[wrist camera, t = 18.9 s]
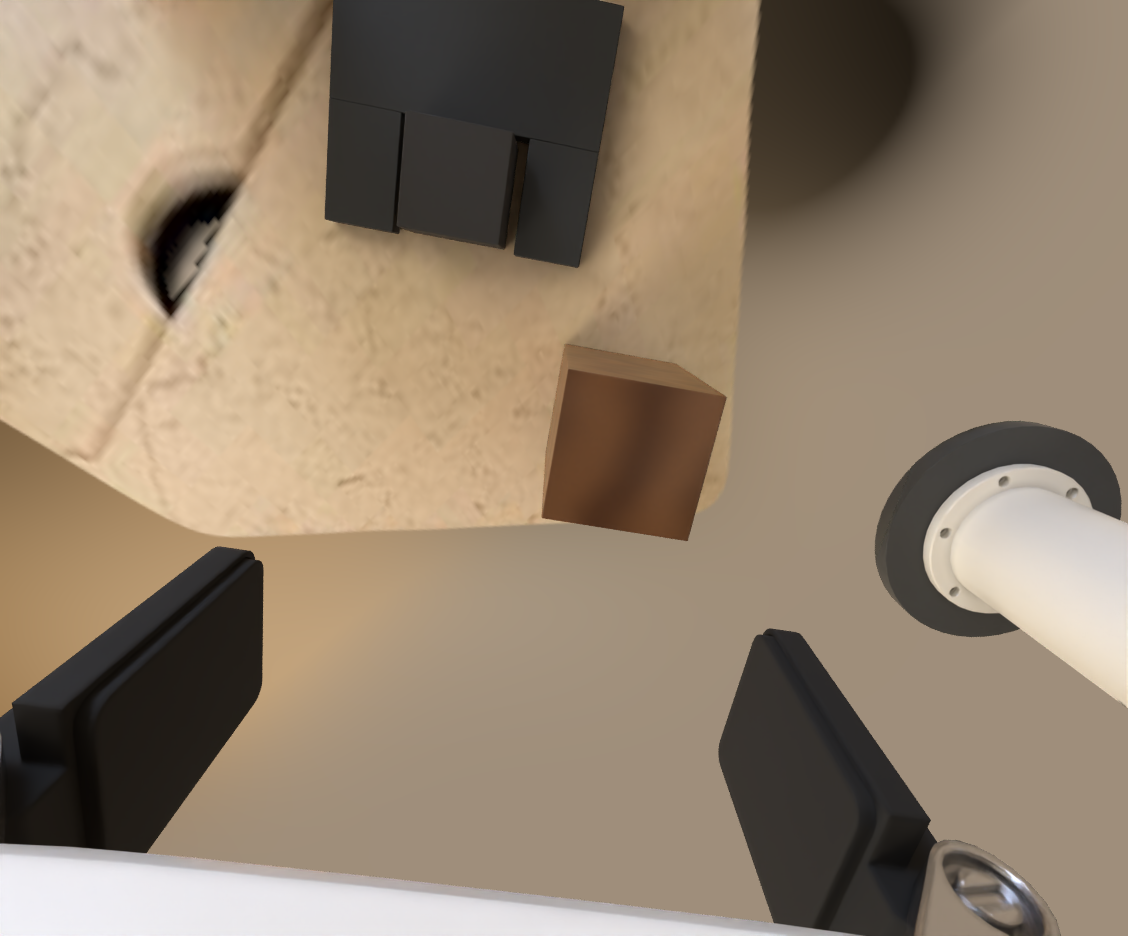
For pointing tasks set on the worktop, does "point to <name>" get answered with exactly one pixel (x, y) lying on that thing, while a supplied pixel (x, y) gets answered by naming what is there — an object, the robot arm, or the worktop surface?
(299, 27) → the worktop surface
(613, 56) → the black u-shaped block
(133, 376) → the worktop surface
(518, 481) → the worktop surface
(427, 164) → the black squat block
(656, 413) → the brown wooden block
